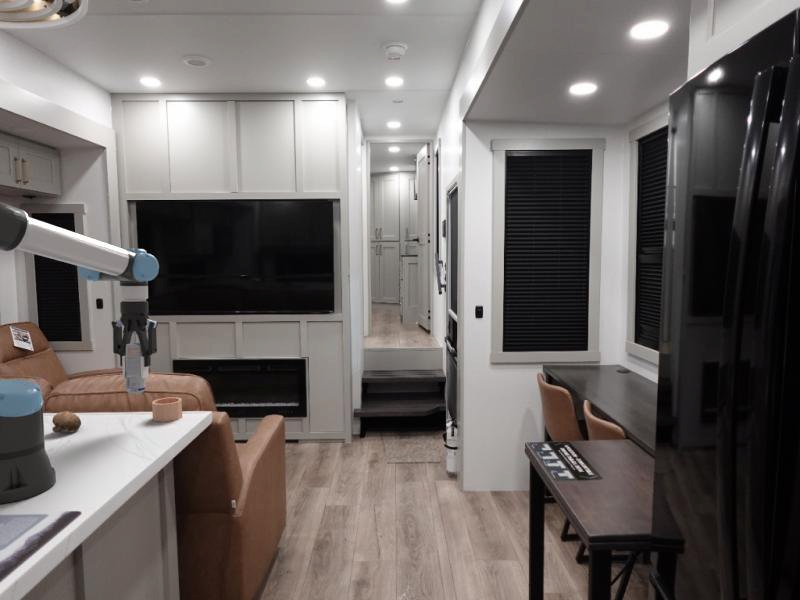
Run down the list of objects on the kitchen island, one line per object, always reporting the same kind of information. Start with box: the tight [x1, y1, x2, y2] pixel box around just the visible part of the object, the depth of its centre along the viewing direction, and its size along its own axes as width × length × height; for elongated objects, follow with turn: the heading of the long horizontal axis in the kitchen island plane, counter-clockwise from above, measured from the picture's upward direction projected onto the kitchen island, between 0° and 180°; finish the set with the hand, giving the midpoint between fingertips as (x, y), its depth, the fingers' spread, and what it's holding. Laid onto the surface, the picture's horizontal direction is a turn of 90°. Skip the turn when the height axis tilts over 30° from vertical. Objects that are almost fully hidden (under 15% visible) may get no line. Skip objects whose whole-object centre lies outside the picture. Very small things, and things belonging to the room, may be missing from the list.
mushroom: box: [52, 410, 82, 434], centre depth 153 cm, size 8×8×6 cm
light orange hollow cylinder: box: [151, 396, 183, 423], centre depth 166 cm, size 9×9×6 cm
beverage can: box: [125, 342, 146, 395], centre depth 156 cm, size 5×5×15 cm
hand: (135, 377), depth 156 cm, fingers closed on beverage can, 5 cm apart
